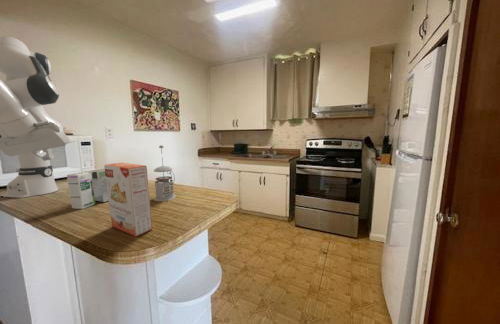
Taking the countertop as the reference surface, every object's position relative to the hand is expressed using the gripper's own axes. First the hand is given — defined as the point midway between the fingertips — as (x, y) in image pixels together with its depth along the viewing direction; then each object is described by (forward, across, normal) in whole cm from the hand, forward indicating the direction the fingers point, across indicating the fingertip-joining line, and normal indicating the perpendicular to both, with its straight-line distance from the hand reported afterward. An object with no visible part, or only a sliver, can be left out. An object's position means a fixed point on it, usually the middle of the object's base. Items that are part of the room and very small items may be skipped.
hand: (49, 159), depth 77 cm
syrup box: (+23, -1, +4) cm, 23 cm away
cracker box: (+16, -31, +28) cm, 45 cm away
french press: (+32, -32, -1) cm, 45 cm away
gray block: (+26, -4, -2) cm, 26 cm away
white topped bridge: (+29, -6, -6) cm, 30 cm away
